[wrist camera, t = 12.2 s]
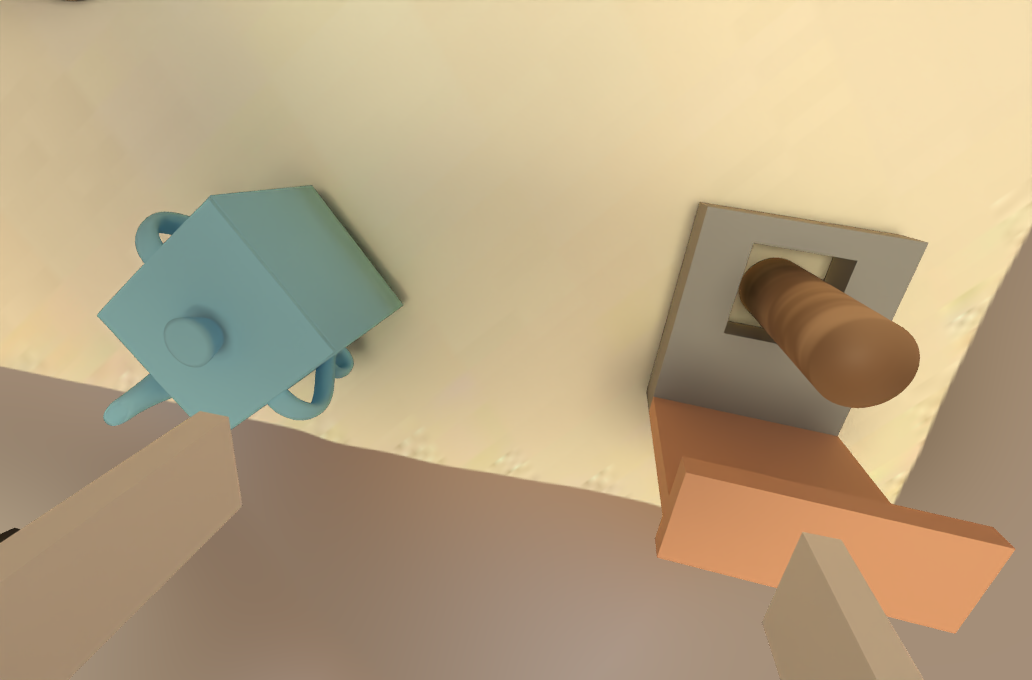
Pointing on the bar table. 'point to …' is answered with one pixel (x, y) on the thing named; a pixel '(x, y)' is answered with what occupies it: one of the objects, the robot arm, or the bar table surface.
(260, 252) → the teal cube teapot
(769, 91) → the bar table surface
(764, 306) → the walnut peg
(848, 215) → the bar table surface
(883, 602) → the socket stand
